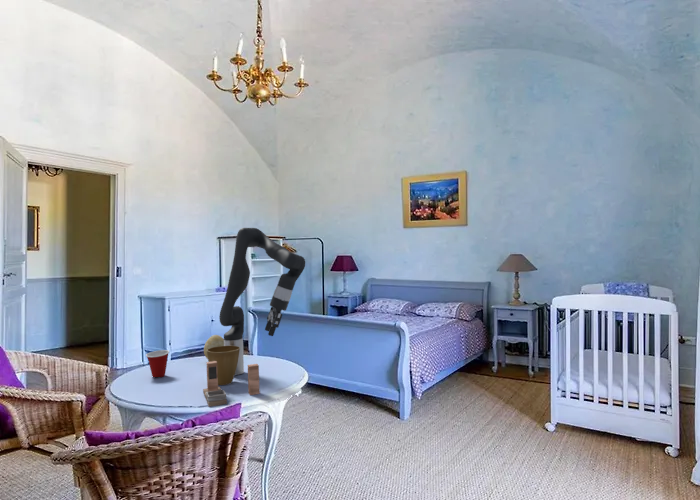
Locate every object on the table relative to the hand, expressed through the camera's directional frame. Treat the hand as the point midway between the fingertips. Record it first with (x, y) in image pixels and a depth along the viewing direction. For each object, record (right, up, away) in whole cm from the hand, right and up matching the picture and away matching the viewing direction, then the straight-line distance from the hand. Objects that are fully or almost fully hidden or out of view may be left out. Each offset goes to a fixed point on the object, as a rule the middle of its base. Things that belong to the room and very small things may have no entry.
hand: (268, 333), depth 200 cm
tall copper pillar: (-6, -25, -4) cm, 26 cm away
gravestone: (-21, -26, -8) cm, 34 cm away
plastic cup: (-60, -27, +30) cm, 72 cm away
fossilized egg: (-39, -27, +57) cm, 74 cm away
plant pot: (-23, -26, +14) cm, 37 cm away
